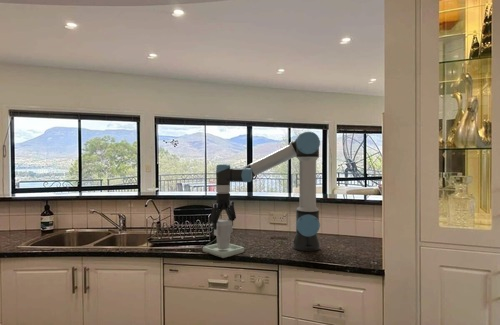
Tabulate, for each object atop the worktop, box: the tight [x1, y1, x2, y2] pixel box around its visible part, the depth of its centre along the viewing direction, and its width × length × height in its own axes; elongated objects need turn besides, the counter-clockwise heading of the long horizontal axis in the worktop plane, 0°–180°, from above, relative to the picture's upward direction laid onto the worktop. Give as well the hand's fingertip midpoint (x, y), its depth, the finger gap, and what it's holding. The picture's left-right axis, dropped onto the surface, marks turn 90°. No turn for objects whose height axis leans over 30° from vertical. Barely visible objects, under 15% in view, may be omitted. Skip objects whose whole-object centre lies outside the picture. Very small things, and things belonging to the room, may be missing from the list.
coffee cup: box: [215, 218, 232, 249], centre depth 176 cm, size 10×10×15 cm
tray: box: [202, 243, 245, 259], centre depth 176 cm, size 17×15×2 cm
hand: (223, 233), depth 176 cm, fingers closed on coffee cup, 9 cm apart
